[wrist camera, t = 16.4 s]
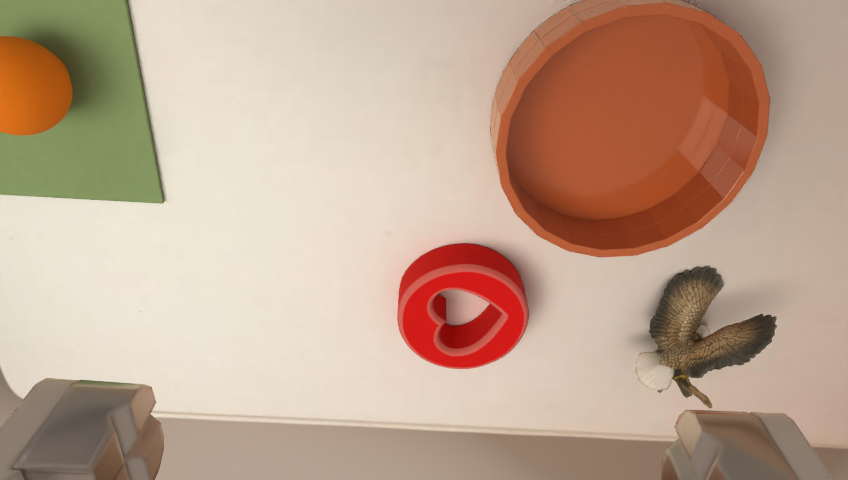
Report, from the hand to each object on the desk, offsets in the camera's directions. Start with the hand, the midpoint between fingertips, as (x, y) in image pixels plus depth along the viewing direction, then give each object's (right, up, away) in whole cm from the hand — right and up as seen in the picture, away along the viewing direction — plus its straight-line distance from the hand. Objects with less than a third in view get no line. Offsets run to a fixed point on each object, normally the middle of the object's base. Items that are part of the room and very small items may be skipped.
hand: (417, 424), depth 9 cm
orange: (-24, +13, +28) cm, 39 cm away
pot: (+12, +11, +30) cm, 34 cm away
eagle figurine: (+21, -3, +38) cm, 43 cm away
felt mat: (-24, +14, +28) cm, 39 cm away
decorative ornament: (+3, -1, +37) cm, 37 cm away
